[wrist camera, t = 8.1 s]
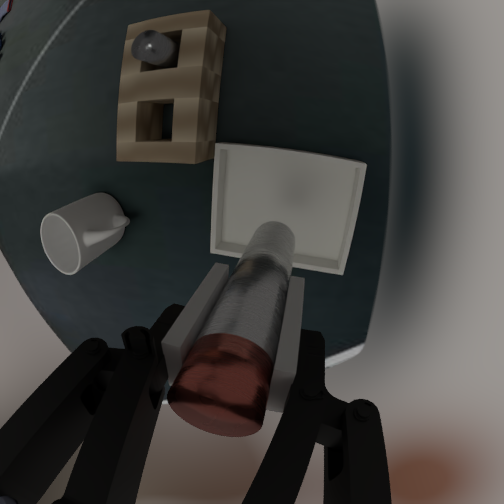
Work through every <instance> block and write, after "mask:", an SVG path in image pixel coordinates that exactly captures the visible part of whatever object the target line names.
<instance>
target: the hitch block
mask: <svg viewBox="0 0 504 504" xmlns="http://www.w3.org/2000/svg"><path fill="white" fill-rule="evenodd" d="M226 29H227V28H226V27H225V25H224V24H223V23H222V22H221V21H220V20H219V19H218V18H217V17H216V16H215V15H214V14H213V13H212V12H211V10H203V11H195V12H188V13H181V14H175V15H170V16H165V17H160V18H155V19H151V20H146V21H142V22H138V23H135V24H131V25H128V30H127V35H126V41H125V47H124V54H123V61H122V69H121V78H120V88H119V100H118V117H117V161H136V162H169V163H188V164H196V163H200V162H203V161H206V160H209V159H213V158H214V156H215V142H216V128H217V115H218V104H219V92H220V82H221V72H222V63H223V54H224V45H225V37H226ZM146 30H155V31H157V32H159V33H161V34H163V35H165V36H167V37H169V38H170V39H172V40H174V41H176V42H178V43H179V44H180V51H179V59H178V67H177V68H169V69H166V68H163V67H160V66H157V65H154V64H150V63H147V62H144V61H141V60H137V59H135V58H134V57H133V56H132V53H131V46H132V43H133V41H134V40H135V38H136V37H137V36H138V35H139V34H140V33H142V32H144V31H146ZM164 104H174V111H173V127H172V139H162V124H163V108H164Z"/></svg>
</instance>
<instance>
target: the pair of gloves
mask: <svg viewBox="0 0 504 504" xmlns="http://www.w3.org/2000/svg"><path fill="white" fill-rule="evenodd" d="M12 2H13V0H6V1H5V3H4V4H3V5H2V6H1V7H0V21H1V20H2V18H3V16H4V15H5V14H6V13H7V12H9V11H10V10H11V7H12ZM1 37H2V35H1V33H0V50H1V47H2V40H1Z"/></svg>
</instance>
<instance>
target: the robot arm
mask: <svg viewBox="0 0 504 504" xmlns="http://www.w3.org/2000/svg"><path fill="white" fill-rule="evenodd" d="M228 273H229V265H226V264H220V263H215V264H214V266H213V267H212V269H211V270H210V271H209V273H208V274H207V276H206V277H205V279H204V280H203V282H202V283H201V284H200V286H199V287H198V289H197V290H196V292H195V293H194V295H193V296H192V297H191V299H190V300H189V302H188V303H187V305H186V306H182V305H178V304H172V305H171V306H169V307H167V308H166V309H165V310H164V311H163V313H162V314H161V315H160V317H159V318H158V319H157V321H156V322H155V323H154V325H153V326H152V327H151V328H150V330H149V329H148V328H145V327H142V326H135V327H130V328H128V329H126V330H125V331H124V332H123V333H122V334H121V336H122V339H123V343H124V346H125V349H117V348H108V346H107V343H106V342H105V341H104V340H103V339H100V338H90V339H87V340H86V341H84V342H83V343H82V344H81V345H80V346H79V347H78V348H77V349H76V350H75V351H74V352H73V353H71V354H70V356H68V357H67V358H66V359H65V360H64V361H63V362H62V363H61V365H59V367H58V368H56V370H55V371H54V372H53V373H52V374H51V375H50V376H49V377H48V378H47V379H46V380H45V381H44V382H43V383H42V384H41V385H40V386H39V387H38V388H37V389H36V390H35V391H34V393H32V395H31V396H30V397H29V398H28V399H27V400H26V401H25V402H24V403H23V404H22V405H21V406H20V408H19V409H18V410H17V411H16V412H15V413H14V414H13V415H12V417H11V418H10V419H9V420H8V421H7V422H6V423H5V424H4V425H3V427H2V428H1V429H0V504H36V503H37V502H38V501H39V500H40V498H41V497H42V496H43V494H44V493H45V492H46V490H47V489H48V488H49V486H50V485H51V483H52V482H53V481H54V479H55V478H56V477H57V475H58V474H59V473H60V471H61V470H62V468H63V467H64V466H65V464H66V463H67V462H68V460H69V459H70V458H71V456H72V455H73V454H74V452H75V451H76V450H77V448H78V447H79V446H80V444H81V443H82V442H83V444H82V446H81V449H80V451H79V454H78V457H77V459H76V462H75V464H74V467H73V470H72V473H71V475H70V478H69V481H68V484H67V487H66V490H65V493H64V495H63V497H62V498H61V499H58V500H56V501H54V502H53V503H52V504H135V502H136V497H137V493H138V489H139V485H140V481H141V477H142V473H143V469H144V465H145V461H146V457H147V454H148V450H149V446H150V443H151V439H152V436H153V432H154V428H155V425H156V421H157V418H158V414H159V411H160V408H161V404H162V401H163V397H164V394H165V387H164V385H165V383H166V381H167V379H168V380H169V385H170V386H172V384H173V382H174V380H175V378H176V376H177V374H178V373H179V371H180V369H181V367H182V365H183V363H184V361H185V360H186V358H187V356H188V354H189V352H190V350H191V348H192V347H193V345H194V343H195V341H196V339H197V337H198V335H199V334H200V332H201V330H202V328H203V326H204V324H205V322H206V321H207V319H208V317H209V315H210V313H211V311H212V310H213V308H214V306H215V304H216V302H217V300H218V298H219V297H220V295H221V293H222V291H223V289H224V287H225V286H226V284H227V282H228ZM304 281H305V278H301V277H295V276H291V277H290V282H289V288H288V293H287V299H286V305H285V311H284V316H283V322H282V327H281V333H280V338H279V344H278V349H277V354H276V359H275V364H274V369H273V374H272V379H271V384H270V392H269V397H268V402H267V407H266V410H270V411H276V412H283V414H282V417H281V419H280V422H279V424H278V427H277V429H276V431H275V434H274V436H273V438H272V441H271V443H270V446H269V448H268V450H267V452H266V454H265V457H264V459H263V461H262V463H261V465H260V468H259V470H258V472H257V474H256V476H255V478H254V480H253V482H252V484H251V487H250V488H249V490H248V492H247V494H246V496H245V498H244V500H243V502H242V504H294V503H295V500H296V498H297V495H298V492H299V490H300V487H301V485H302V482H303V479H304V476H305V473H306V470H307V467H308V464H309V461H310V458H311V455H312V452H313V449H314V445H315V442H317V443H319V444H322V445H324V501H323V504H391V492H390V483H389V482H390V481H389V472H388V465H387V457H386V449H385V443H384V436H383V432H382V425H381V419H380V414H379V411H378V408H377V407H376V406H375V405H374V404H373V403H372V402H370V401H368V400H365V399H358V400H354V401H352V402H350V403H347V402H345V401H342V400H339V399H337V398H335V397H333V396H332V395H331V394H330V393H329V392H328V391H327V389H326V387H325V340H324V338H323V336H322V334H321V332H318V331H311V330H305V329H301V320H302V308H303V295H304ZM83 440H84V441H83Z"/></svg>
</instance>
